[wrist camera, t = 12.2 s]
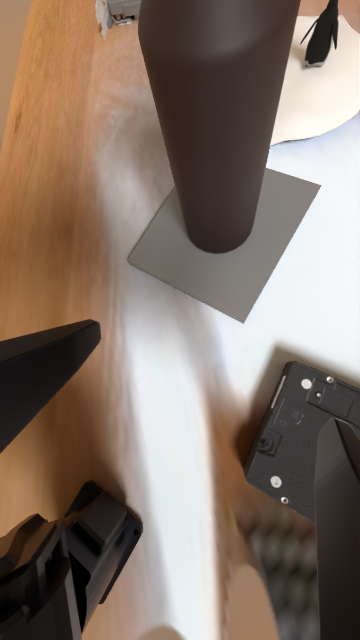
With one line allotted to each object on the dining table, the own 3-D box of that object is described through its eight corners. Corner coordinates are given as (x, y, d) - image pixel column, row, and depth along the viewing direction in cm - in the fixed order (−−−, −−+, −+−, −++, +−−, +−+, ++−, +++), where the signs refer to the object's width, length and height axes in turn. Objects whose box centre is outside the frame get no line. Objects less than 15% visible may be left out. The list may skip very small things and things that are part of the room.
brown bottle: (203, 191, 25) (143, -408, 6) (263, 208, 23) (459, -567, 4) (176, 243, 24) (-1, -259, 5) (236, 265, 22) (320, -380, 3)
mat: (243, 323, 22) (244, 321, 21) (130, 264, 26) (126, 260, 25) (317, 193, 24) (321, 185, 23) (201, 155, 27) (200, 147, 26)
